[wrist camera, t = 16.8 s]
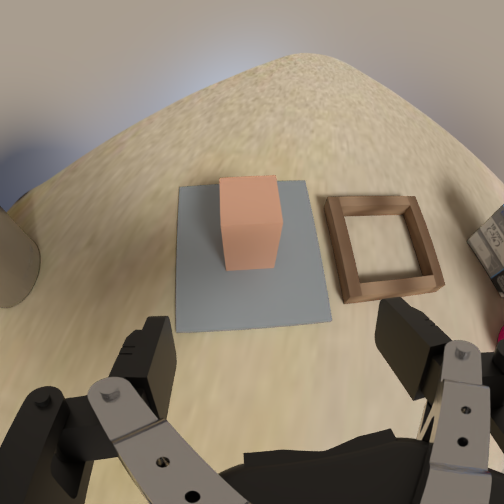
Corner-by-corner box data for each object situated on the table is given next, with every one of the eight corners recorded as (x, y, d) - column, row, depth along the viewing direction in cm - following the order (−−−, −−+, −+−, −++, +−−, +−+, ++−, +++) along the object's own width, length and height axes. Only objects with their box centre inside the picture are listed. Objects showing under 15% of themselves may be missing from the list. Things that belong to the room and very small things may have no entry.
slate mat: (176, 332, 28) (176, 331, 27) (180, 189, 35) (179, 187, 34) (331, 321, 28) (332, 320, 28) (304, 182, 36) (305, 180, 35)
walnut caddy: (344, 303, 29) (350, 296, 27) (323, 207, 34) (327, 196, 32) (435, 291, 30) (445, 284, 28) (408, 206, 35) (415, 196, 33)
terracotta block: (226, 270, 30) (220, 225, 23) (224, 229, 32) (219, 177, 25) (274, 267, 30) (283, 222, 23) (269, 227, 32) (275, 175, 25)
